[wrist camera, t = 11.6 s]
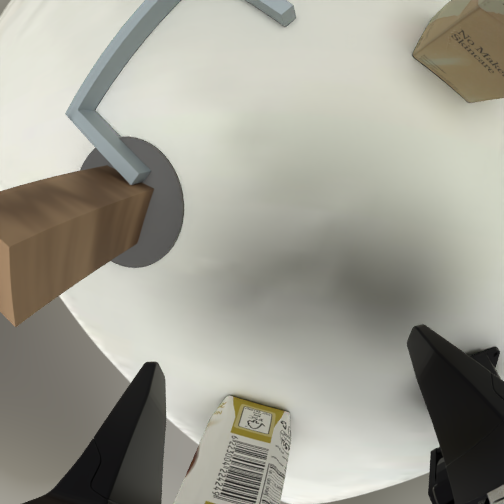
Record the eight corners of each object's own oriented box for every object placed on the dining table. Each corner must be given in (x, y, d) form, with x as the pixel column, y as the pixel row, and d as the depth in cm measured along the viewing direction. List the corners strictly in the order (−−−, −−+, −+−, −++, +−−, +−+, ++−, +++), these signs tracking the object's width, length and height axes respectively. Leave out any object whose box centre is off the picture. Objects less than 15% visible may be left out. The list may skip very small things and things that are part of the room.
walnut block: (154, 188, 19) (9, 247, 8) (137, 243, 21) (15, 327, 10) (107, 165, 19) (-34, 202, 8) (94, 218, 21) (-28, 278, 10)
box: (409, 55, 13) (495, -19, 3) (432, 15, 12) (509, -62, 1) (472, 107, 13) (590, 96, 3) (492, 65, 12) (596, 34, 1)
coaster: (201, 254, 21) (199, 256, 20) (101, 273, 23) (98, 275, 23) (162, 116, 18) (159, 116, 17) (67, 163, 21) (64, 164, 20)
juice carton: (301, 407, 24) (261, 604, 7) (275, 449, 28) (236, 598, 10) (221, 385, 25) (137, 572, 8) (210, 431, 28) (148, 573, 11)
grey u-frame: (296, 17, 14) (293, 4, 12) (146, 180, 20) (130, 185, 18) (205, -36, 13) (195, -48, 11) (82, 114, 19) (65, 113, 17)
